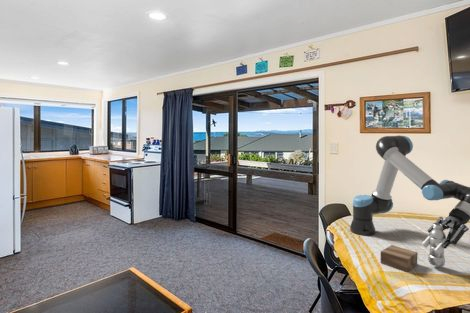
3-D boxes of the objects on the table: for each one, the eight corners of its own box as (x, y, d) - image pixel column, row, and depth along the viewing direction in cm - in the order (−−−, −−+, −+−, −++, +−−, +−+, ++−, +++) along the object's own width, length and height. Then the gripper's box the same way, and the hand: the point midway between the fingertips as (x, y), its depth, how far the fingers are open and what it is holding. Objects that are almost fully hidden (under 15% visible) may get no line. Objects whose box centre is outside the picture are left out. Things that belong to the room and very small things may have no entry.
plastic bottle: (437, 261, 134) (438, 221, 132) (448, 268, 127) (450, 226, 125) (424, 262, 133) (425, 222, 132) (435, 268, 127) (436, 227, 125)
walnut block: (391, 256, 143) (391, 245, 143) (417, 264, 134) (417, 252, 133) (380, 263, 136) (380, 251, 136) (407, 272, 127) (407, 259, 126)
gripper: (488, 224, 120) (453, 263, 120) (448, 212, 140) (418, 245, 139) (478, 213, 119) (443, 252, 119) (439, 202, 139) (409, 236, 138)
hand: (430, 248), depth 129 cm, fingers closed on plastic bottle, 6 cm apart
